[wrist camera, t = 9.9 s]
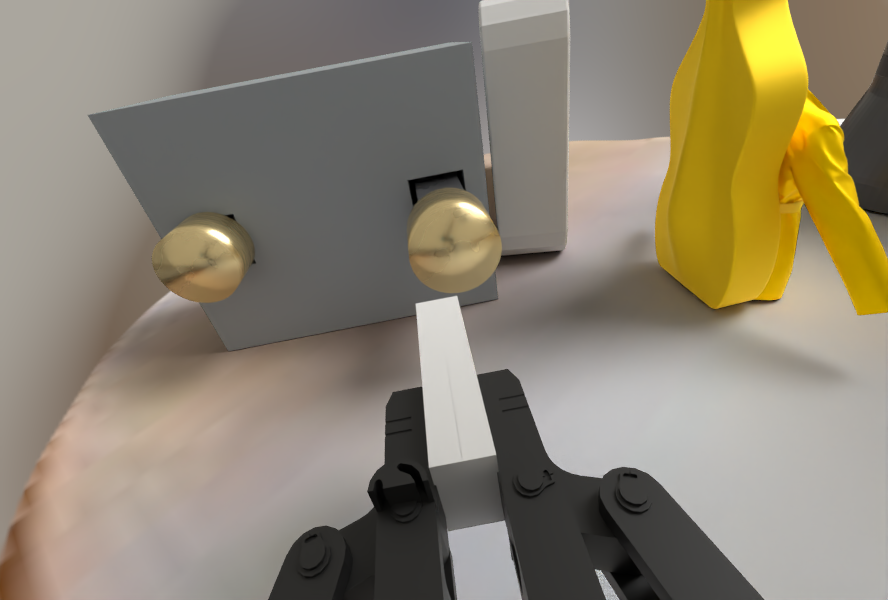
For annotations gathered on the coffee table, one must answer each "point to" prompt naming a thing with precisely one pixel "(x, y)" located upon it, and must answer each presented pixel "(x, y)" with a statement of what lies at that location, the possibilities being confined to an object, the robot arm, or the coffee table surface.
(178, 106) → the knob housing
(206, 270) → the knob
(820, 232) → the figure statuette
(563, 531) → the robot arm
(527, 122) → the rounded white slab
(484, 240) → the knob
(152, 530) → the coffee table surface
